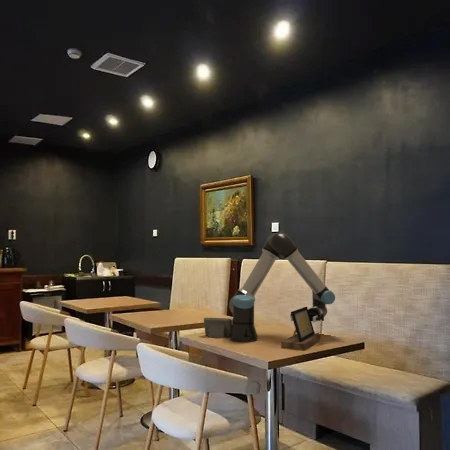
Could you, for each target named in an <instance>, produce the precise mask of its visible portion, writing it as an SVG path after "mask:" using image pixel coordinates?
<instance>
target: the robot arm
mask: <svg viewBox="0 0 450 450" xmlns="http://www.w3.org/2000/svg"><path fill="white" fill-rule="evenodd" d="M261 251H262V253H261V255H260V257H259V258H258V260H257V262H256V263H255V265H254V267H253V268H252V270H251V272H250V274H249V275H248V277H247V279H246V280H245V282H244V284H243V286H242V287H241V288H238V289H237V290H236V292H235V294H234V295H233V296H232V297H231V299H230V300H229V303H228V308H229V310H230V313H232V329H231V333H230V336H229V340H230V341H232V342H238V343H249V342H251V343H252V342H256V341H257V340H258V333H257V330H256V327H255V301H256V297H255V296H256V294H257V292H258V291H259V289H260V287H261V285H263V284H262V283H264V281H265V279H266V277H267V276H268V274H269V272H270V271H271V269H272V267H273V265H274V264H275V262H276V261H278V260H280V258H281V257H283V259H284V260H287V261H288V262H289V264H290V265H291V266H292V268H294V270H295V271H296V272H297V274H298V275H299V276H300V277H301V279H303V281H304V282H305V283H306V285H308V287H309V289H310V290H312V291H311V292H312V293H311V295H312V307H310V308H308V312H309V315H310V319H311V322H312V324H313V323H317V322H321V321H322V322H323V321H325V317H326V316H327V314H328V308H327V307H326V305H332V304H333V303H335V301H336V294H335V293H334V292H333V291H332V290H330V289H329V288H328V287H327V286H326V284H325V283H324V282H323V280H322V279H321V278H320V277H319V275H317V273H316V272H315V271H314V269H313V268H312V267H311V265H310V264H309V262H307V261H306V259H305V258H304V257H303V256H302V255H301V253H300V252H299V247H297V245H296V244H295V242H294V241H293V239H292V238H290V236H289V235H288V234H286V233H284V232H276V233H275V232H274V233H271V234H269V235H268V236H267V238H266V239H265V242H264V245H263V247H262V248H261ZM289 314H290V321H291V322H293V318H292V315H291V313H289Z"/></svg>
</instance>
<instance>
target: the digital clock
mask: <svg viewBox="0 0 450 450" xmlns="http://www.w3.org/2000/svg"><path fill="white" fill-rule="evenodd" d="M203 324H204V335H206V336H208V338H211V339H212V338H215V339H216V338H217V339H224V338H226V337H230V333H231V329H232V326H233V321H232V319H231V318H228V317H226V318H225V317H203Z"/></svg>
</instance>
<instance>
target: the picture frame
mask: <svg viewBox="0 0 450 450" xmlns="http://www.w3.org/2000/svg"><path fill="white" fill-rule="evenodd" d="M308 309H309V308H308V306H304V307H300V308H299V309H296V310H293V311H290V314H291V315H292V318H293V321H292V322H293V324H294V329H295V330H294V332H293V335H292V336H293V337H294V336H295V334H297V336H298V340H299V342H301V341H303V340H305V339H307V338H308V337H310V336H312V335H314V334H316V333H315V329H314V327H313V321H311V319H310V315H309V312H308Z"/></svg>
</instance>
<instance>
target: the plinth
mask: <svg viewBox="0 0 450 450" xmlns="http://www.w3.org/2000/svg"><path fill="white" fill-rule="evenodd" d="M320 341H321V334H319V333H315V334H314V335H312V336H310V337H308V338H307V339H305V340H303V341H301V342H299V340H298V336H297V333H296V334H295V336H294V337H293V335H291V336H290V337H288V338H286V339H284V340H282V341H281V342H280V343H281V344H280V347H281V349H289V350H290V349H291V350H298V351H306V350H307V349H309V348H311V347H312V346H314V345H315V344H316V343H319V342H320Z"/></svg>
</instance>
